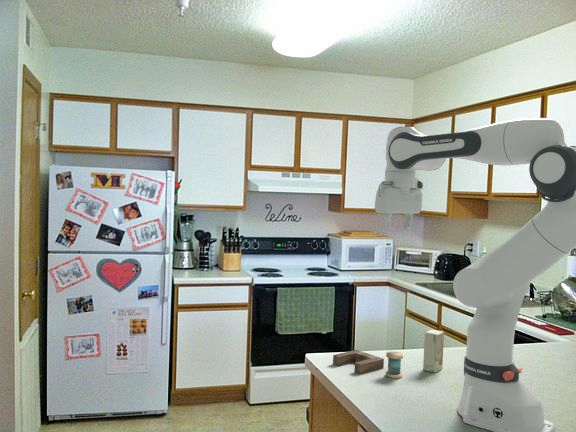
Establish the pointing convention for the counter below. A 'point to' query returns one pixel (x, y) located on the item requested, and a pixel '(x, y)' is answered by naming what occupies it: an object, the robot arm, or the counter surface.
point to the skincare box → (433, 350)
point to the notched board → (359, 361)
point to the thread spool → (394, 364)
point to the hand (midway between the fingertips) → (397, 228)
